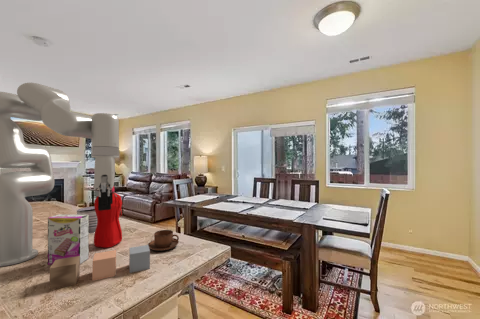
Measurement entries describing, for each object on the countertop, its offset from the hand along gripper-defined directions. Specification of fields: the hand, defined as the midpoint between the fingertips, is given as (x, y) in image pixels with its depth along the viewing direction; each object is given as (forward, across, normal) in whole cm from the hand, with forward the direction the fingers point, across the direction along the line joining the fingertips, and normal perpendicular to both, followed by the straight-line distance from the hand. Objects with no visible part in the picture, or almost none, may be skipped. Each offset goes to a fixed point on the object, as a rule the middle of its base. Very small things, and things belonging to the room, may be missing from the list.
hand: (105, 206), depth 70 cm
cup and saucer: (+22, -14, +20) cm, 32 cm away
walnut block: (+21, 0, -10) cm, 24 cm away
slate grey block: (+21, 0, +10) cm, 23 cm away
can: (+21, -53, -10) cm, 58 cm away
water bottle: (+21, -27, 0) cm, 35 cm away
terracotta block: (+21, 0, 0) cm, 21 cm away
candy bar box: (+21, -15, -12) cm, 29 cm away
